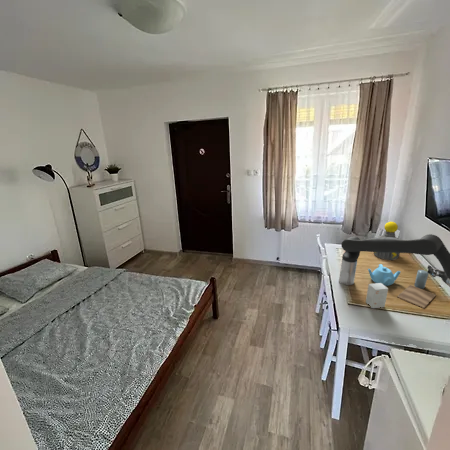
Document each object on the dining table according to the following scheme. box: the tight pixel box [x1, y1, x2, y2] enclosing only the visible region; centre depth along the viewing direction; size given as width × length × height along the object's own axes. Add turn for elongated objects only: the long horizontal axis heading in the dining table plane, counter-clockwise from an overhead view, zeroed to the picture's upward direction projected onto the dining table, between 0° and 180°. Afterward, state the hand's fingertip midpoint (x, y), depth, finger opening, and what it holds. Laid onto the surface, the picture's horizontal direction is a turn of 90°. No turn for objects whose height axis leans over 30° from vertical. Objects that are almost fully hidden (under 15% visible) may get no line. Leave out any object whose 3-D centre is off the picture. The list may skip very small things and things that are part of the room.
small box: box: [365, 282, 389, 309], centre depth 147 cm, size 8×6×13 cm
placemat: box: [396, 284, 437, 309], centre depth 155 cm, size 20×14×1 cm
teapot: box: [367, 263, 401, 287], centre depth 171 cm, size 15×15×11 cm
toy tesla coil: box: [373, 221, 401, 261], centre depth 204 cm, size 19×19×30 cm
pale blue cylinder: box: [413, 269, 430, 290], centre depth 164 cm, size 6×6×11 cm
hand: (436, 267), depth 149 cm, fingers open, 8 cm apart
